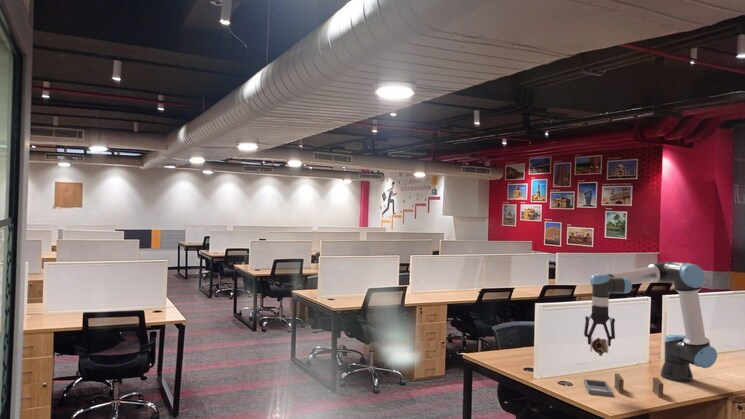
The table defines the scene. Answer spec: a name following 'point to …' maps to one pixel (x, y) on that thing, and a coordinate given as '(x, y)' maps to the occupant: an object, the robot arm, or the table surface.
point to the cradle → (656, 385)
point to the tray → (598, 387)
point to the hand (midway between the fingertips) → (598, 351)
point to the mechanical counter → (599, 346)
